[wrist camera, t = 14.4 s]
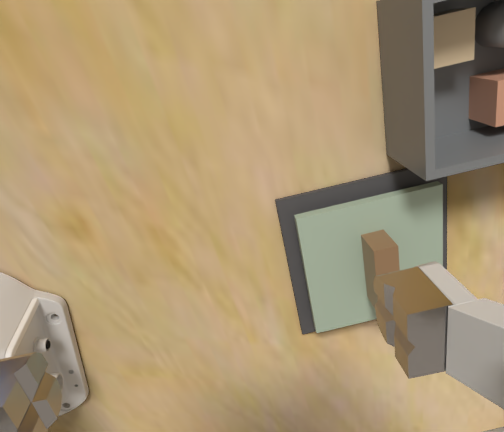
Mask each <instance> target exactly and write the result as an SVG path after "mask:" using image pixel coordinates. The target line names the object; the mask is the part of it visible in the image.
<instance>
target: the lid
mask: <svg viewBox="0 0 504 432" xmlns="http://www.w3.org/2000/svg"><path fill="white" fill-rule="evenodd" d="M294 218H295V223H296V229H297V234H298V240H299V245H300V251H301V256H302V262H303V267H304V273H305V278H306V284H307V289H308V295H309V300H310V306H311V311H312V317H313V322H314V328H315V330H316V333H320V332H324V331H329V330H333V329H337V328H341V327H345V326H349V325H354V324H358V323H362V322H366V321H370V320H375V319H377V318H376V311H375V304H376V303H377V301H378V300H379V297H378V296H377V294H376V293H375V291H374V277H375V276H378V275H382V274H386V273H391V272H395V271H400V270H404V269H408V268H413V267H415V266H418V265H422V264H426V263H430V262H433V261H435V262H438V263H440V264H441V265H442V266H443V184H441V183H440V182H438V181H435V182H431V183H427V184H423V185H418V186H414V187H410V188H406V189H402V190H397V191H393V192H389V193H385V194H380V195H376V196H372V197H368V198H364V199H359V200H355V201H351V202H347V203H342V204H338V205H334V206H330V207H326V208H321V209H317V210H313V211H309V212H304V213H300V214H296V215H294Z"/></svg>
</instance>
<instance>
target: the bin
mask: <svg viewBox="0 0 504 432" xmlns="http://www.w3.org/2000/svg"><path fill="white" fill-rule="evenodd" d="M377 14H378V29H379V44H380V60H381V75H382V90H383V105H384V120H385V135H386V150H387V155H388V156H390V157H391V158H393V159H394V160H396V161H397V162H398V163H400V164H401V165H403V166H404V167H406V168H407V169H409V170H410V171H412V172H413V173H415V174H416V175H418V176H419V177H421V178H422V179H424V180H425V181H429V180H433V179H437V178H442V177H446V176H450V175H454V174H458V173H463V172H467V171H471V170H475V169H479V168H484V167H488V166H492V165H496V164H500V163H504V0H380V1H377Z"/></svg>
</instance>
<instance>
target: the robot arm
mask: <svg viewBox="0 0 504 432" xmlns="http://www.w3.org/2000/svg"><path fill="white" fill-rule="evenodd" d="M374 291H375V293H376V294H377V296H378V297H379V300H378V301H377V303H376V304H375V311H376V318H377V322H378V326H379V329H380V331H381V333H382V335H383V337H384V339H385V341H386V342H387V343H388V344H390V345H392V346H394V347H395V357H396V359H397V360H398V362H399V364H400V365H401V367H402V369H403V370H404V372H405V373H406V375H407V377H408V378H414V377H419V376H424V375H429V374H434V373H439V372H444V371H446V373H447V374H448V375H450V376H452V377H453V378H455V379H456V380H458V381H460V382H461V383H463V384H464V385H466V386H467V387H469V388H471V389H472V390H474V391H475V392H477V393H479V394H480V395H482V396H483V397H485V398H487V399H488V400H490V401H491V402H493V403H495V404H496V405H498V406H499V407H501V408H503V409H504V304H501V303H498V302H495V301H492V300H489V299H486V298H483V299H477V298H476V297H475V296H474V295H473V294H472V293H471V292H470V291H469V290H468V289H466V288H465V287H464V286H463V285H462V284H461V283H460V282H459V281H458V280H457V279H456V278H455V277H454V276H453V275H452V274H450V273H449V272H448V271H447V270H446V269H445V268H444V267H443V266H442V265H441V264H440V263H438V262H435V261H433V262H430V263H426V264H422V265H418V266H415V267H413V268H408V269H404V270H400V271H395V272H391V273H386V274H382V275H378V276H375V277H374ZM54 314H56V315H58V316H55V315H54ZM88 394H89V389H88V385H87V381H86V377H85V373H84V369H83V365H82V361H81V357H80V353H79V350H78V346H77V342H76V338H75V334H74V330H73V326H72V322H71V318H70V314H69V310H68V307H67V303H66V301H65V300H64V299H63V298H62V297H60V296H58V295H55V294H51V293H48V292H43V291H39V290H35V289H33V288H31V287H29V286H27V285H25V284H24V283H22V282H20V281H18V280H17V279H15V278H13V277H11V276H9V275H6V274H4V273H1V272H0V432H48V428H49V427H50V426H51V425H52V424H53V423H54V422H55V420H56V419H57V418H58V416H61V415H63V414H65V413H68V412H69V411H71V410H73V409H75V408H76V407H78V406H79V405H80V404H82V403H83V402H84V401H85V400H86V398H87V396H88ZM483 432H504V427H500V428H496V429H492V430H488V431H483Z"/></svg>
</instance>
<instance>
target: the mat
mask: <svg viewBox="0 0 504 432" xmlns="http://www.w3.org/2000/svg"><path fill="white" fill-rule="evenodd" d="M435 181H438V182H440V183H441V184H443V267H444V268H445V269H446V270H447V176H446V177H442V178H437V179H433V180H429V181H425V180H424V179H422V178H421V177H419V176H418V175H416V174H415V173H413V172H412V171H410V170H409V169H407V168H406V169H402V170H398V171H394V172H390V173H385V174H381V175H377V176H373V177H369V178H364V179H360V180H356V181H352V182H348V183H343V184H339V185H335V186H331V187H326V188H322V189H318V190H314V191H310V192H305V193H301V194H297V195H293V196H289V197H284V198H280V199H276V200H275V202H276V207H277V212H278V217H279V221H280V226H281V231H282V236H283V241H284V246H285V251H286V256H287V261H288V266H289V271H290V276H291V281H292V286H293V291H294V296H295V300H296V305H297V310H298V315H299V320H300V325H301V330H302V334H307V333H311V332H315V331H316V330H315V328H314V322H313V317H312V311H311V306H310V300H309V295H308V289H307V284H306V278H305V273H304V267H303V262H302V256H301V251H300V245H299V240H298V234H297V229H296V223H295V218H294V215H296V214H300V213H304V212H309V211H313V210H317V209H321V208H326V207H330V206H334V205H338V204H342V203H347V202H351V201H355V200H359V199H364V198H368V197H372V196H376V195H380V194H385V193H389V192H393V191H397V190H402V189H406V188H410V187H414V186H418V185H423V184H427V183H431V182H435Z"/></svg>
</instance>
